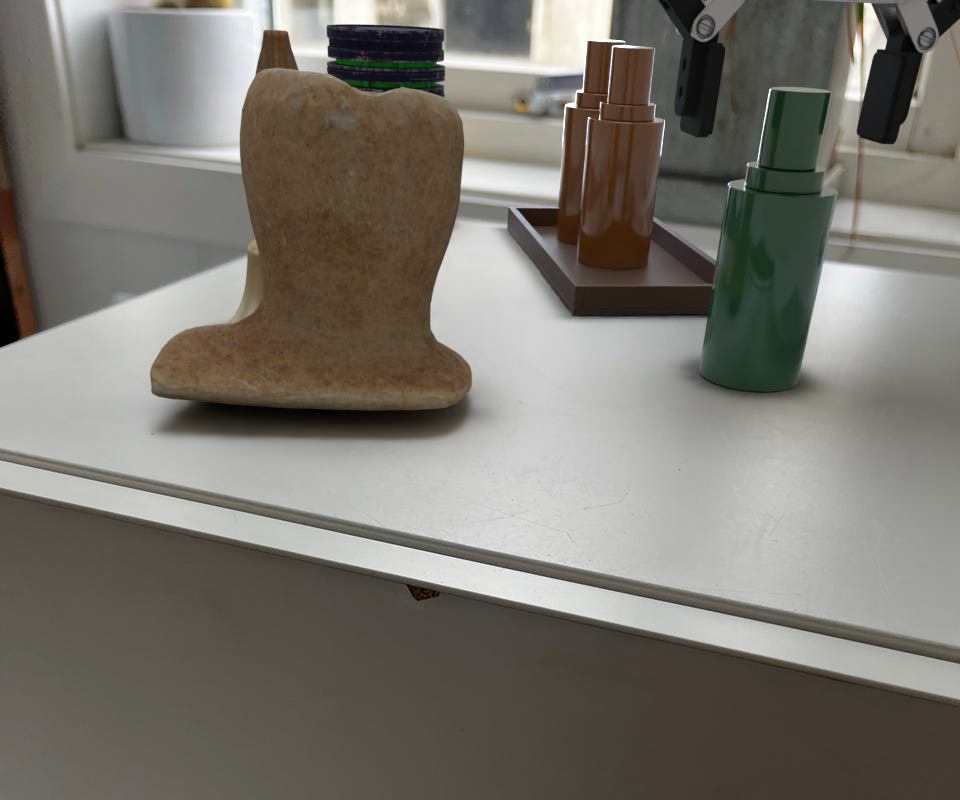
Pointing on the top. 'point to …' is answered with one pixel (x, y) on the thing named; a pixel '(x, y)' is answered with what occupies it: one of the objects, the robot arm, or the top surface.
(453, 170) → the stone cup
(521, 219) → the tray
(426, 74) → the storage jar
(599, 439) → the top surface
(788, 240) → the green bottle
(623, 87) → the amber bottle
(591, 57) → the amber bottle
